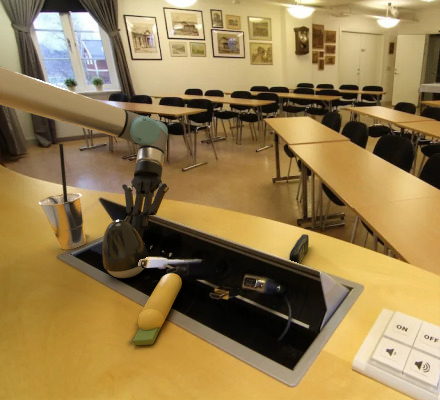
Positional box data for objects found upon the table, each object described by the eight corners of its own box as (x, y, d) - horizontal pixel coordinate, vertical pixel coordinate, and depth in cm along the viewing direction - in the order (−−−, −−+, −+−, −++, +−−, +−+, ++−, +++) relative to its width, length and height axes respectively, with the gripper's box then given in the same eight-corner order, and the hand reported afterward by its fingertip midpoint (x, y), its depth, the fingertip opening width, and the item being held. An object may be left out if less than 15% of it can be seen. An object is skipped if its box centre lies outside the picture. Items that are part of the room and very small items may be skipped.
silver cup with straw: (86, 232, 107) (61, 143, 96) (101, 242, 101) (76, 147, 90) (46, 244, 99) (14, 149, 88) (60, 256, 93) (27, 154, 82)
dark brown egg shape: (157, 261, 91) (147, 212, 85) (139, 283, 81) (126, 229, 76) (121, 261, 90) (109, 212, 85) (98, 283, 81) (82, 229, 75)
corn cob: (130, 348, 62) (124, 327, 60) (164, 286, 80) (161, 269, 78) (157, 346, 62) (152, 326, 61) (185, 285, 80) (182, 268, 79)
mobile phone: (298, 256, 85) (311, 230, 99) (287, 254, 86) (301, 229, 99) (298, 271, 87) (311, 244, 101) (288, 270, 88) (301, 243, 101)
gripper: (175, 171, 104) (166, 241, 95) (133, 172, 103) (119, 242, 93) (167, 159, 97) (156, 233, 88) (121, 159, 96) (106, 235, 86)
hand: (137, 238), depth 91 cm, fingers closed
